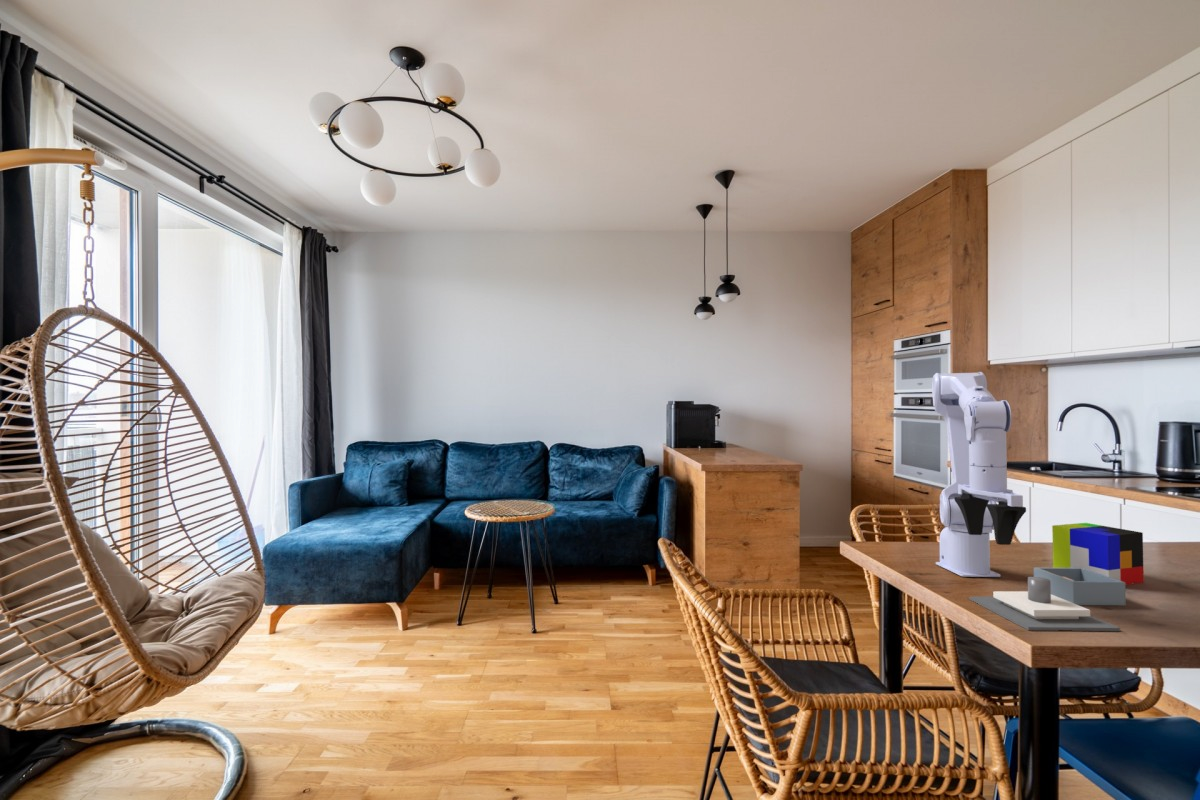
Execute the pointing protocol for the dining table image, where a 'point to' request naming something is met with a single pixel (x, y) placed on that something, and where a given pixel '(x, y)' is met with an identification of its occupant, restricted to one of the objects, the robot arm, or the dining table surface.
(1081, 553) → the puzzle toy
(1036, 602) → the lid
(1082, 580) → the storage box
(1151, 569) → the dining table surface
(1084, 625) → the mat
